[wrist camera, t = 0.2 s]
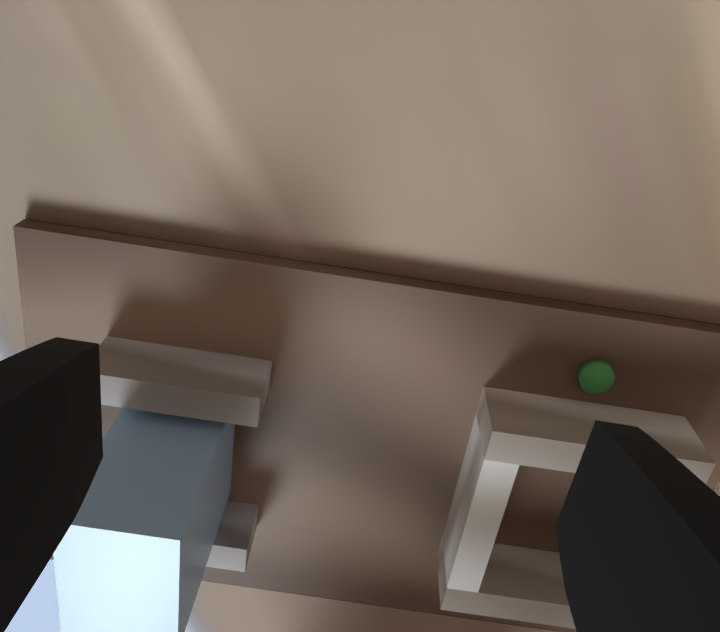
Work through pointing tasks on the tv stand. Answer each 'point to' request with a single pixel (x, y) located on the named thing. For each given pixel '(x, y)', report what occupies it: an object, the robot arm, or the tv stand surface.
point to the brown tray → (375, 410)
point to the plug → (145, 525)
